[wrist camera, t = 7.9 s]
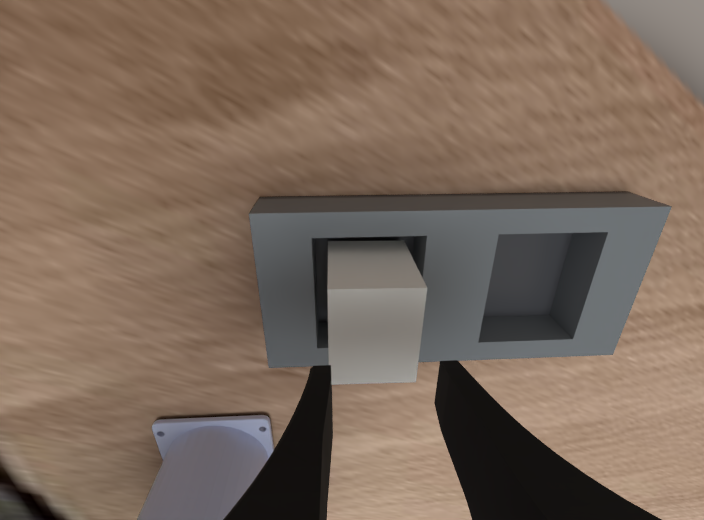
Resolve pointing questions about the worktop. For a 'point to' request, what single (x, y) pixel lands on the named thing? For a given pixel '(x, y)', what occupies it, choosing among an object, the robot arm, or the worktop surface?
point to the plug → (374, 312)
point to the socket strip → (465, 269)
